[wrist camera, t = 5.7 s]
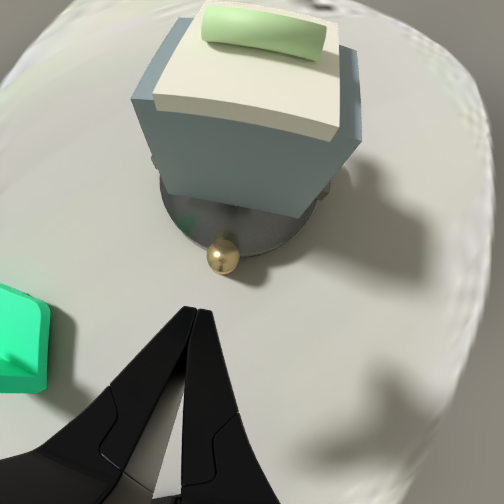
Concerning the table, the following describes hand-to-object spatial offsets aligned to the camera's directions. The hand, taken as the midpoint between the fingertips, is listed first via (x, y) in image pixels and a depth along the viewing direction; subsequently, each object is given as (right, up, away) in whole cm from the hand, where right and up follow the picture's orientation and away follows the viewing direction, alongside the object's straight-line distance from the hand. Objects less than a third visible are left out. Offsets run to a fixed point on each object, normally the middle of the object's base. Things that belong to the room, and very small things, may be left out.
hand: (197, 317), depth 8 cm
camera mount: (-21, -5, +11) cm, 25 cm away
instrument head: (+1, +9, +12) cm, 16 cm away
